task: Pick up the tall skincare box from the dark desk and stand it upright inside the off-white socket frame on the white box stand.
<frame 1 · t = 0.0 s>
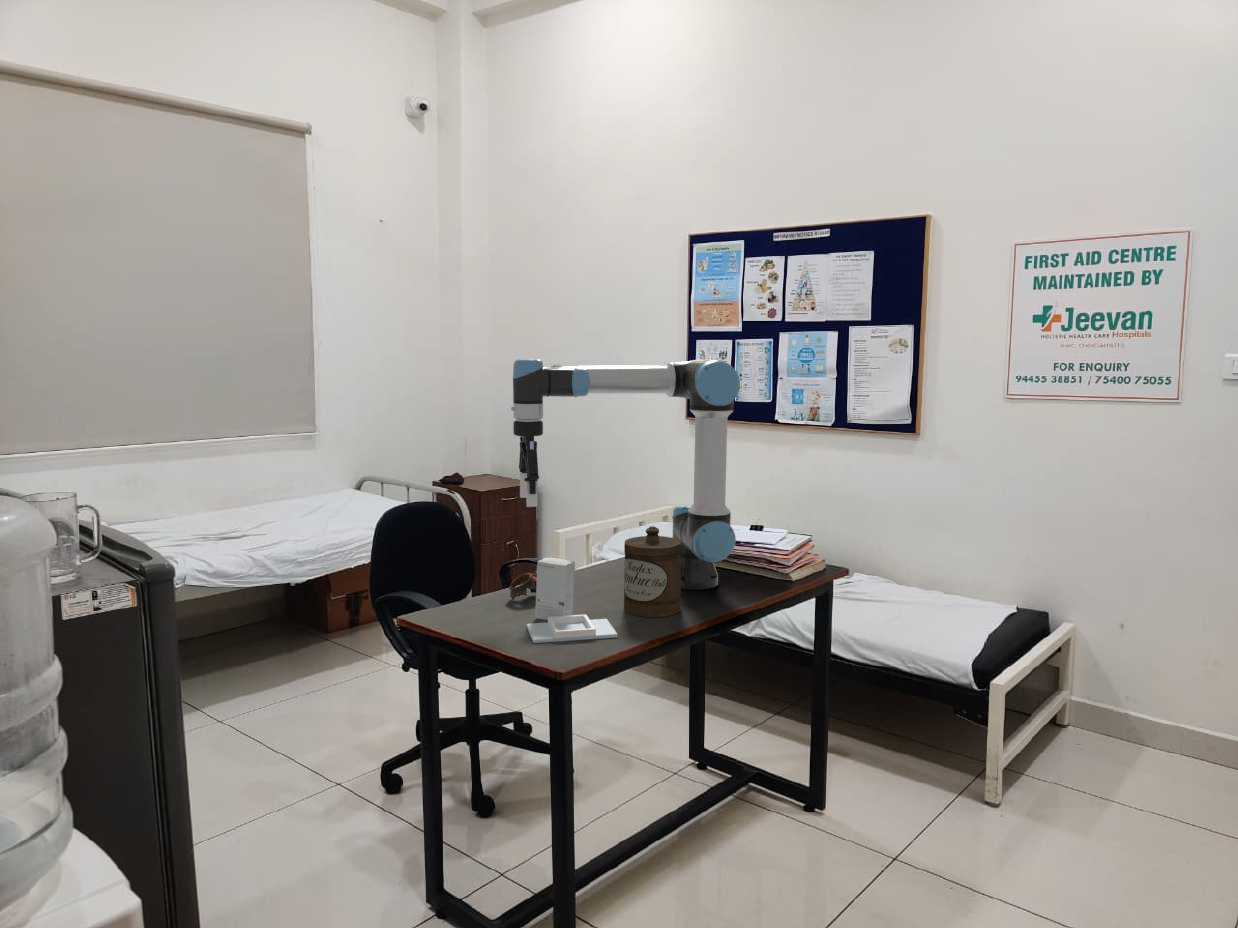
hand: (528, 501, 230), 28 cm above the table, tool pointing down, fingers open, 13 cm apart
white box stand: (571, 631, 213), on the table
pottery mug: (530, 599, 241), on the table
skincare box: (555, 618, 225), on the table
wooden container: (652, 610, 232), on the table
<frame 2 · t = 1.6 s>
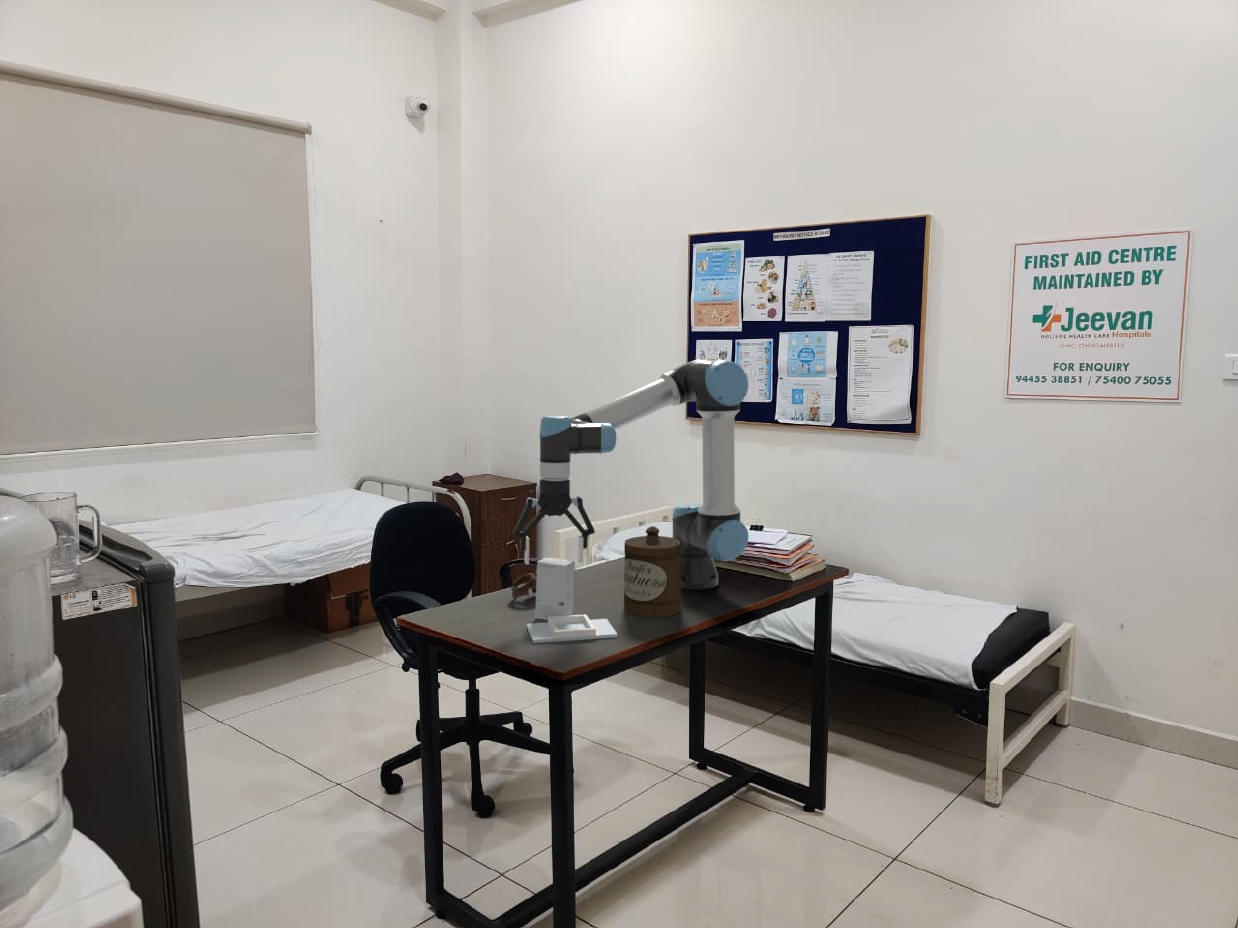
hand: (553, 562, 222), 14 cm above the table, tool pointing down, fingers open, 13 cm apart
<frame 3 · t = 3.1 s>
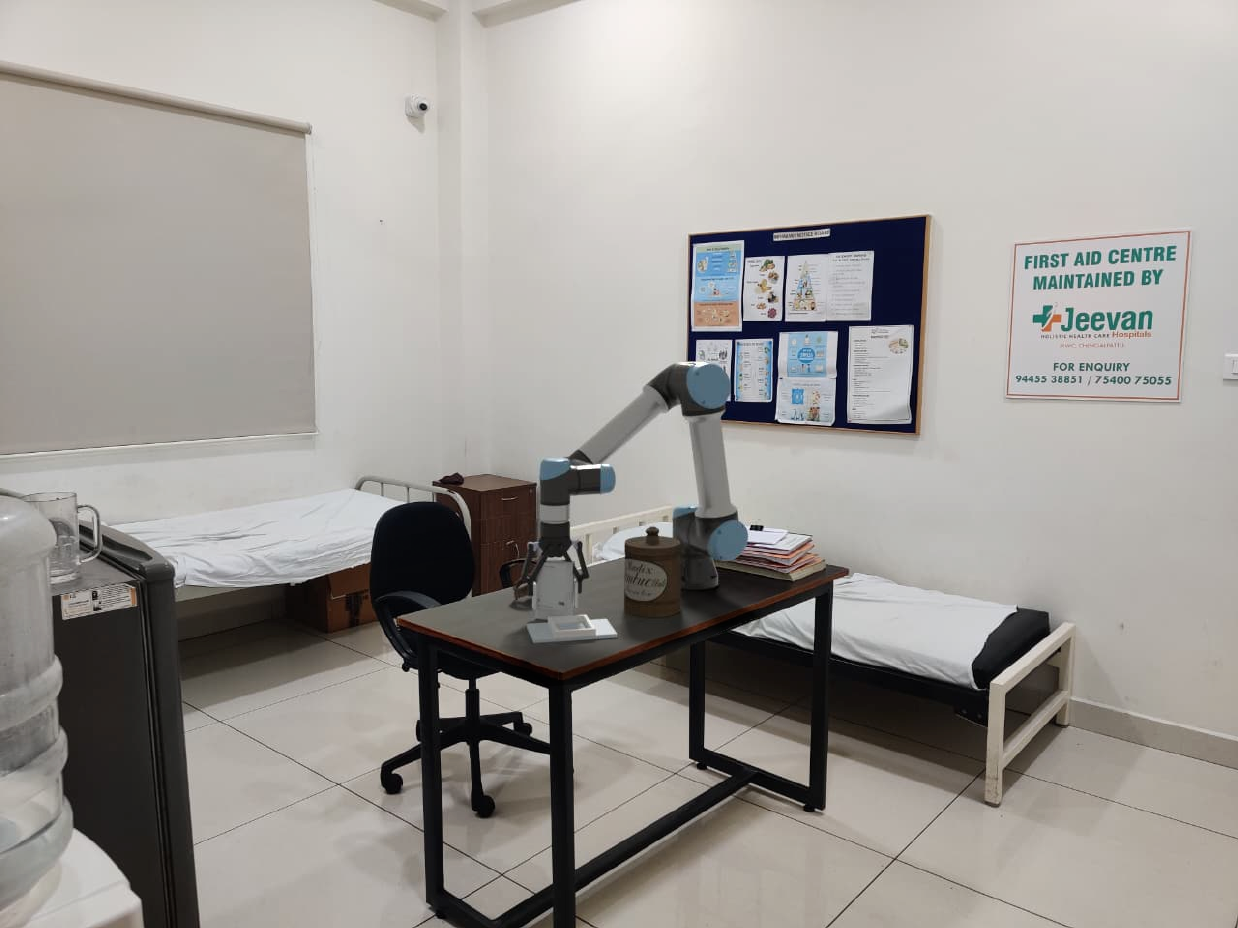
hand: (554, 607, 224), 3 cm above the table, tool pointing down, fingers closed on skincare box, 10 cm apart
skincare box: (555, 618, 225), on the table, touching gripper
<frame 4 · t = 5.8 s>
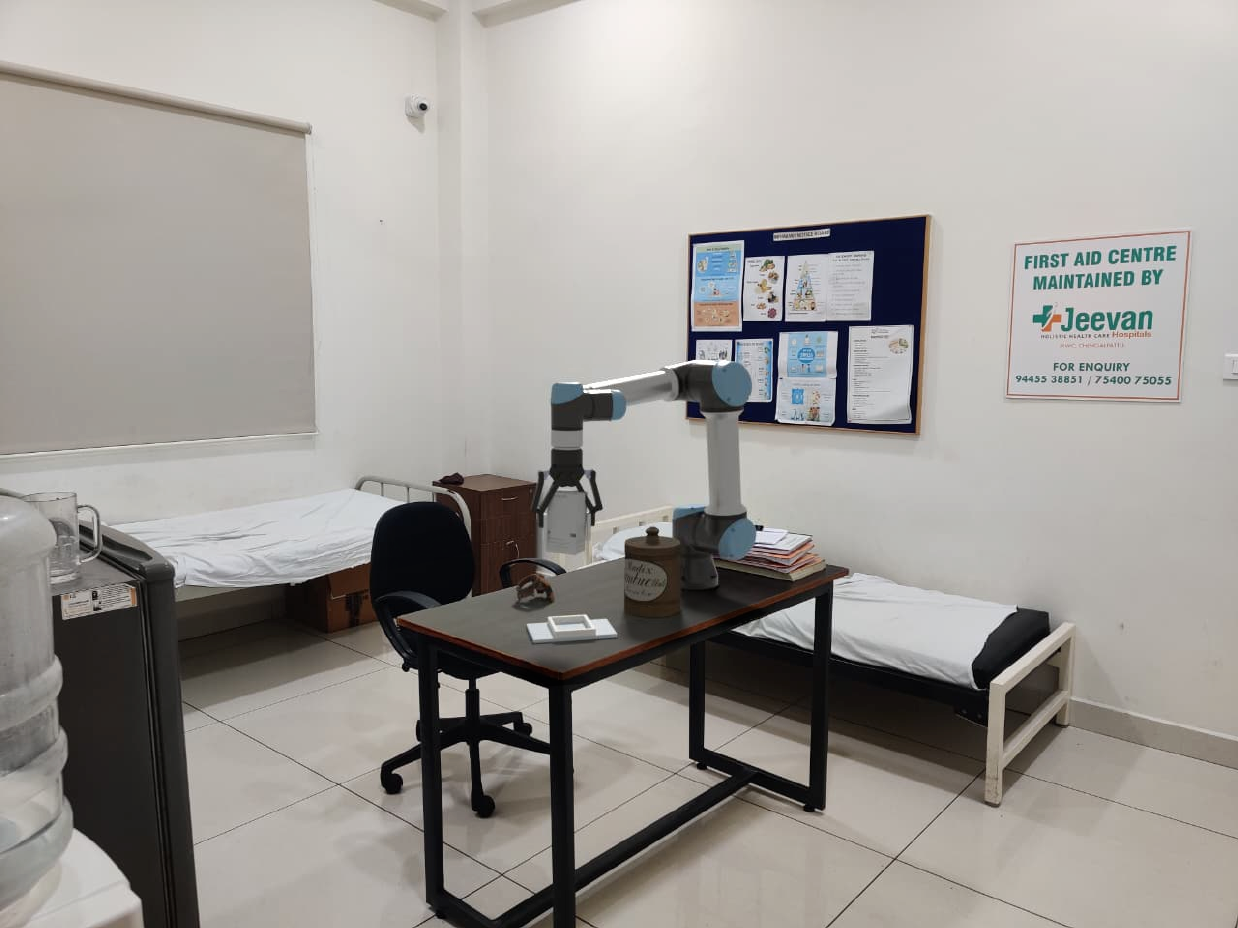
hand: (566, 540, 213), 22 cm above the table, tool pointing down, fingers closed on skincare box, 10 cm apart
skincare box: (566, 552, 213), point 19 cm above the table, touching gripper
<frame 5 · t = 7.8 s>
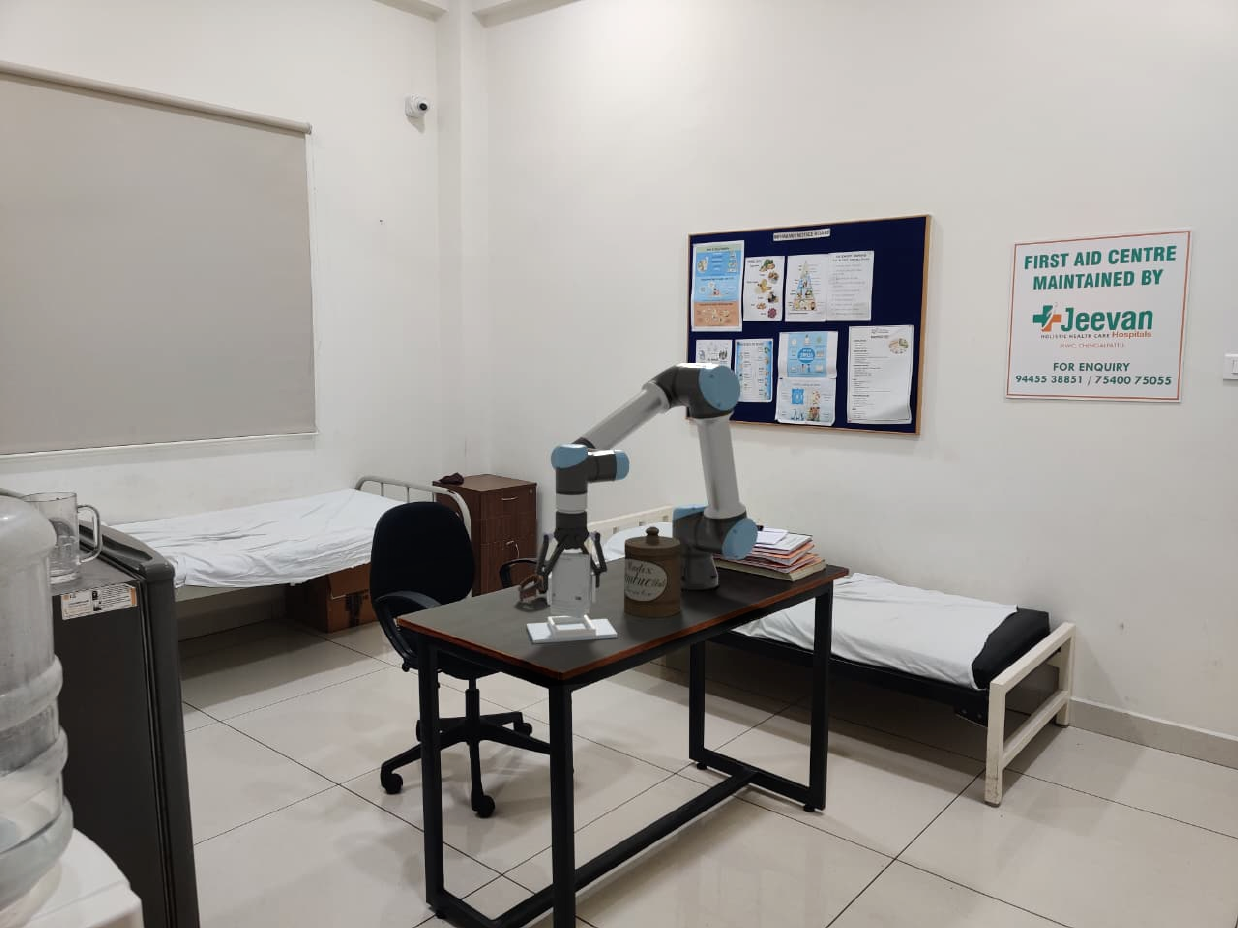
hand: (571, 601, 212), 7 cm above the table, tool pointing down, fingers closed on skincare box, 10 cm apart
skincare box: (571, 613, 213), point 5 cm above the table, touching gripper
when the fingers open (5 cm above the table, at t = 8.9 s): skincare box stays where it is, resting on white box stand.
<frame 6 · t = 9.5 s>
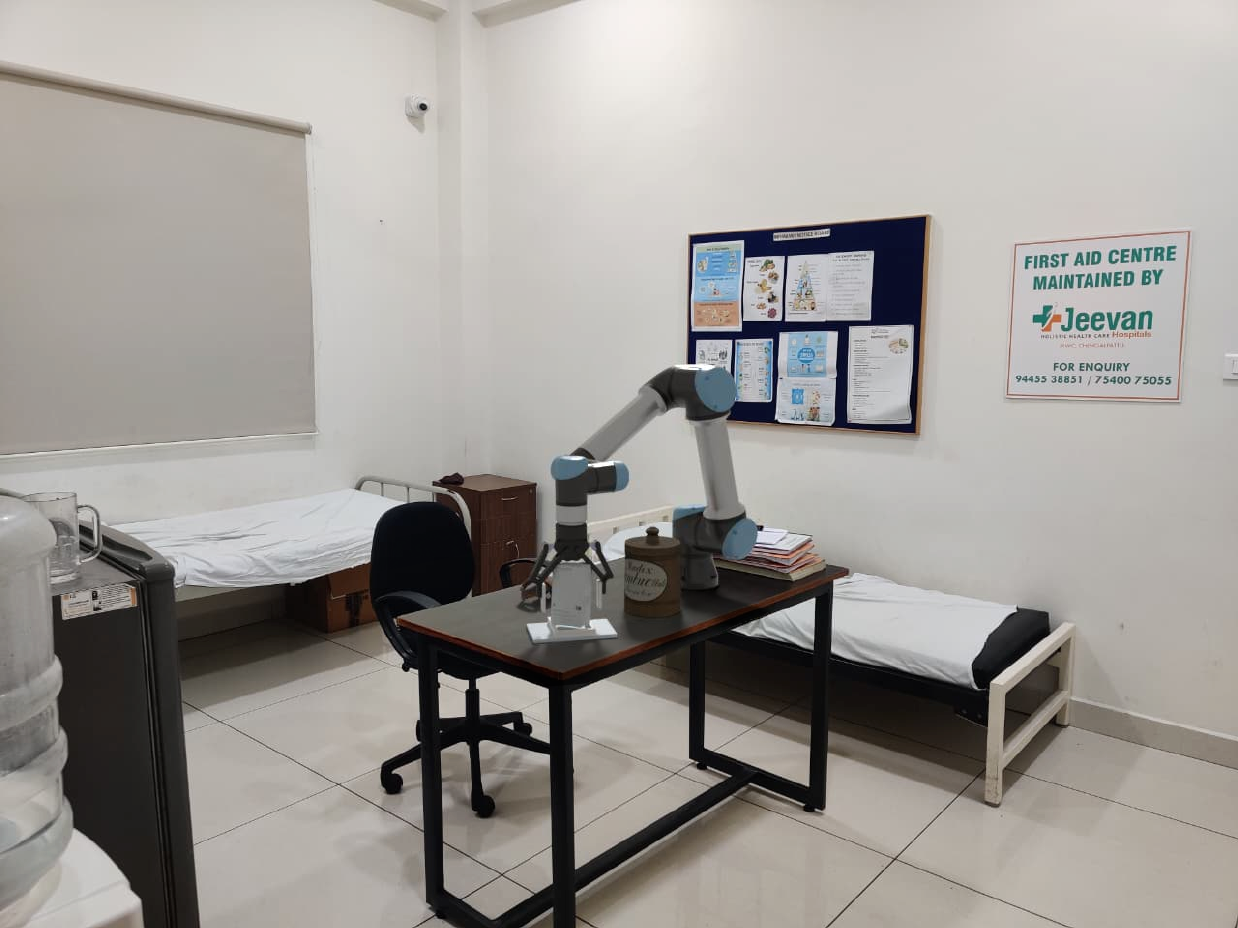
hand: (571, 609, 213), 6 cm above the table, tool pointing down, fingers open, 13 cm apart
skincare box: (571, 623, 213), point 2 cm above the table, touching white box stand
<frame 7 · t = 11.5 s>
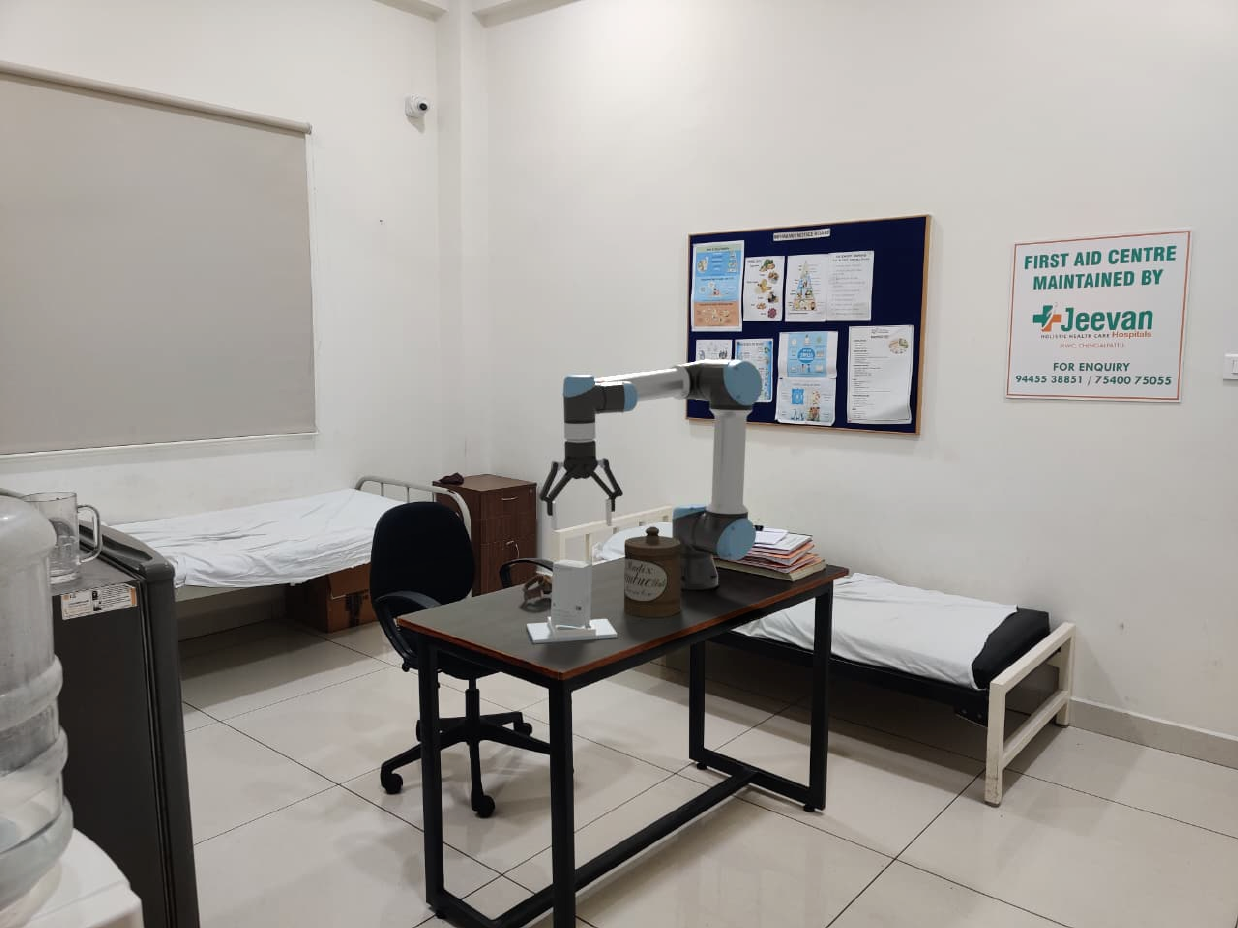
hand: (581, 526, 216), 25 cm above the table, tool pointing down, fingers open, 13 cm apart
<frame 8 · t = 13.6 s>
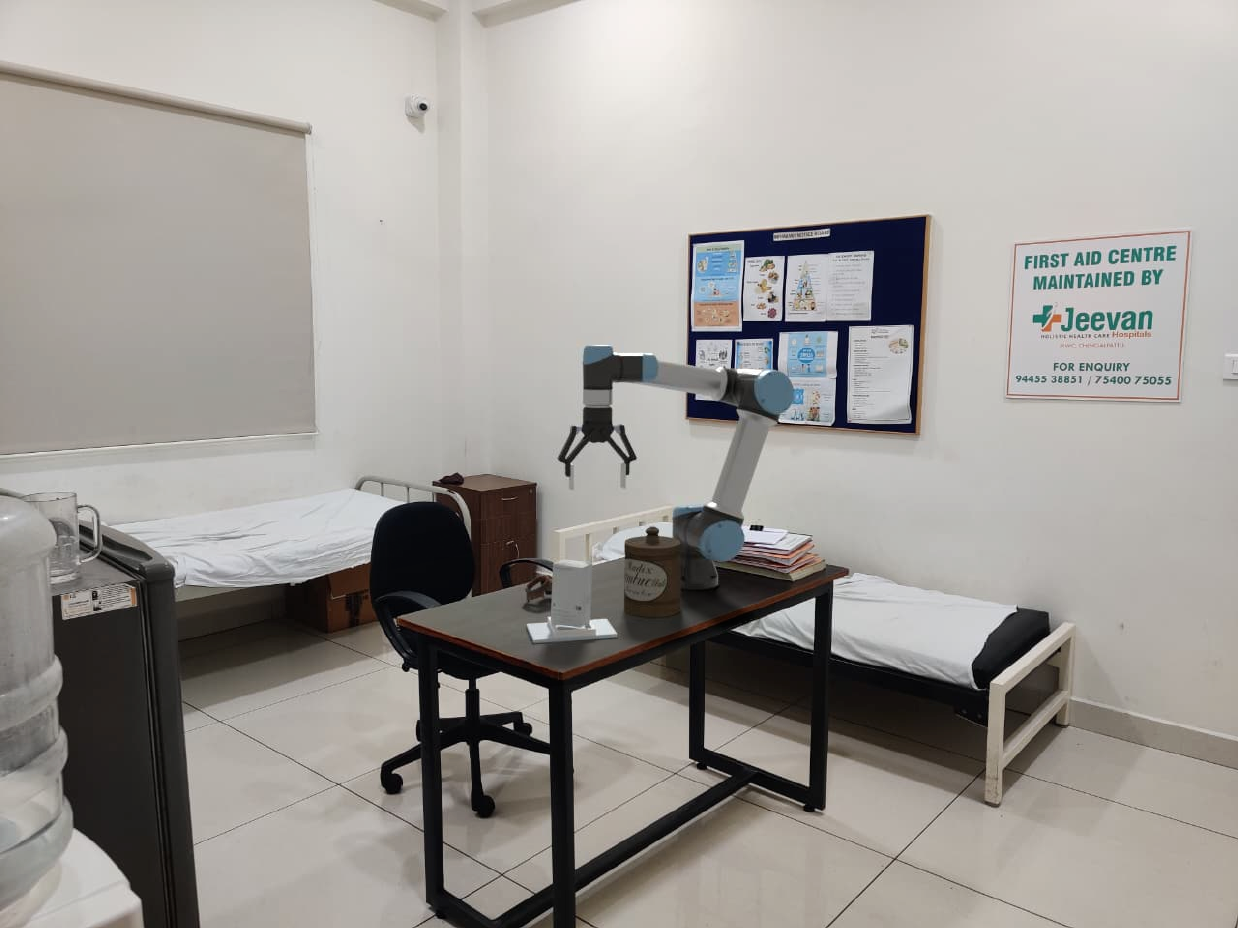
hand: (597, 488, 229), 32 cm above the table, tool pointing down, fingers open, 13 cm apart
at the end: skincare box 0.1 cm off-centre on the white box stand, point 2.1 cm above the white box stand's base; skincare box tilted 0°; the gripper is holding nothing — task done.
